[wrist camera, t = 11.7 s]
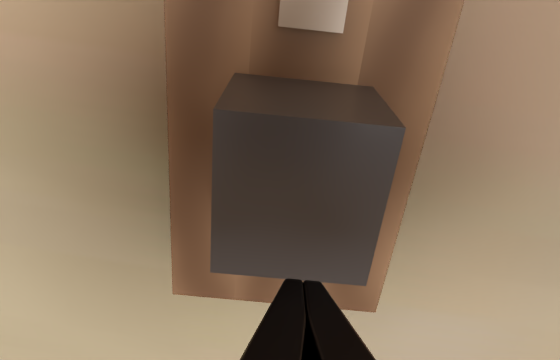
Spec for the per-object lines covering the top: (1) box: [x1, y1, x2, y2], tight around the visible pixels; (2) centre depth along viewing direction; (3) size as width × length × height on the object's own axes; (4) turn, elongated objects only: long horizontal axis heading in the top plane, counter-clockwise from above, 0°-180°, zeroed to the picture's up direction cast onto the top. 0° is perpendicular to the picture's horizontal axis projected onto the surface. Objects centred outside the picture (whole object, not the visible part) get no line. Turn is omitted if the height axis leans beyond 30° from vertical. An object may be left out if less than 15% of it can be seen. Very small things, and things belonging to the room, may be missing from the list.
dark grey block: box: [210, 73, 406, 286], centre depth 16 cm, size 6×6×7 cm
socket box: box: [164, 0, 464, 312], centre depth 18 cm, size 11×18×4 cm, turn 174°
